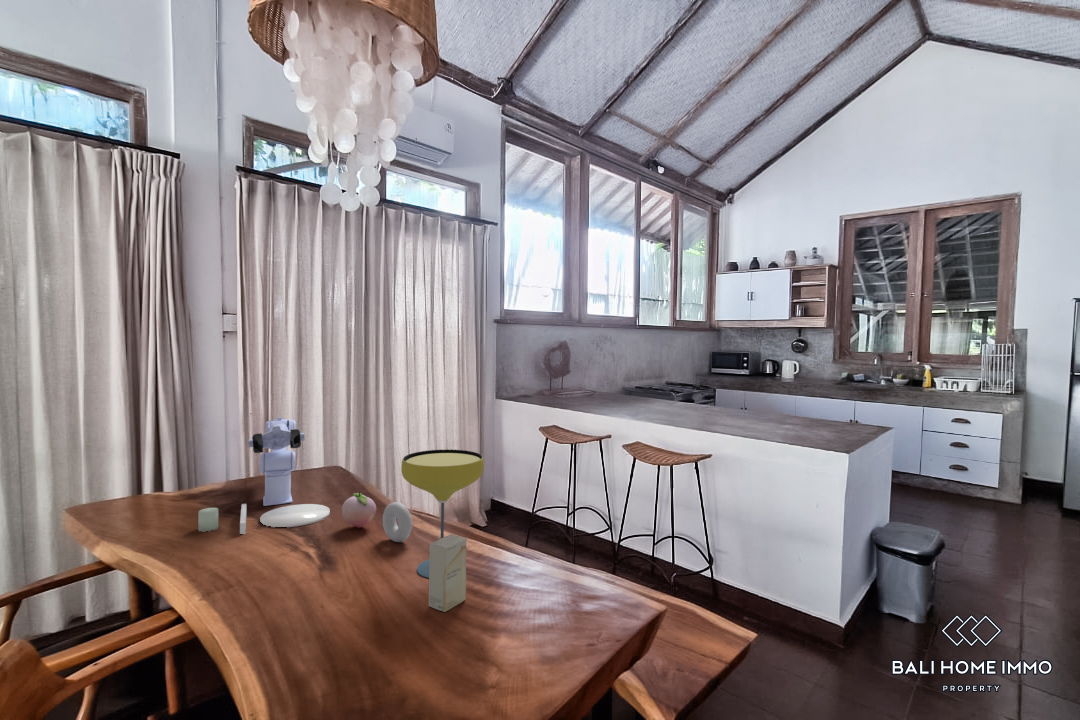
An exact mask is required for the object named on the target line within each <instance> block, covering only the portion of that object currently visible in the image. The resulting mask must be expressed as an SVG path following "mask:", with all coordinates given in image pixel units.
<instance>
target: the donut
mask: <svg viewBox="0 0 1080 720" xmlns="http://www.w3.org/2000/svg"><path fill="white" fill-rule="evenodd" d="M382 527H383V530H384V532H385V534H386V536H387V537H388V538H389V539H390V540H391V541H392V542H396V543H403V542H404V541H406V540H407V539H408V538H409V536H410V535H411V533H412V529H413V519H412V515H411V513H410V511H409V509H408V508H407V506H406V505H404V503H401V502H399V501H397V502H396V501H394V502H391V503H388V505H386V507H385V508H384V510H383V514H382Z"/></svg>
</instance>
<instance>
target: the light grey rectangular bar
mask: <svg viewBox="0 0 1080 720" xmlns="http://www.w3.org/2000/svg"><path fill="white" fill-rule="evenodd" d="M240 507H241V509H240V519H239V521H240V522H239V535H240V534H243V535H246V531H245V530H246V529H247V528H246V527H247V526H246V525H247V503H241V506H240Z"/></svg>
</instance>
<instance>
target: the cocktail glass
mask: <svg viewBox="0 0 1080 720" xmlns="http://www.w3.org/2000/svg"><path fill="white" fill-rule="evenodd" d="M400 467H401V469H400V471H401V476H402V478H403V479H405V481H406V482H408V483H409V484H410V485H412V486H413V487H415V488H417V489H420V490H422V491H425V492H427V493H429V494H431V495H433V497H434V499H436V500H437V502H438V503H441V505H440V507H441V508H440V511H441V512H440V539H441V538H443V537H445V535H444V533H445V530H444V529H445V528H444V526H445V523H444V522H445V503H447V502H448V501H449V500H450V498H451V497H452V495H453V494H455V493H457V492H458V491H460V490H462V489H465V488H466V487H468V486H470V485H472V484H474V483H475V482H476V481H478V480H479V479H480V477H481V476H482V475H483V473H484V469H485V461H484V457H483V455H482V454H480V453H479V452H475V451H471V450H463V449H431V450H423V451H417V452H412V453H409V454H406V455H405V456H404V457H403V458H402V459H401V466H400ZM416 571H417V572H416V573H417V574H418V575H419V576H420V577H423V578H426V579H429V558H428V559H426V560H424V561H422V562H420V563H419V564H418V566H417V567H416Z"/></svg>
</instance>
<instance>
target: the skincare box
mask: <svg viewBox="0 0 1080 720" xmlns="http://www.w3.org/2000/svg"><path fill="white" fill-rule="evenodd" d="M467 541H468V540H467V538H466V537H463V536H459V535H455V534H452V533H451V534H448V535H446V536H444V537H443V538H441V537H440V538H439V539H437V540H435V541H432V542H430V543H429V556H428V557H429V558H428V559H429V578H428V607H430V608H433V609H435V610H438V611H441V612H442V613H446V612H447V611H450V610H452V609H453V608H454V607H456V606H458V605H459V604H461V603H462V602H465V601H466V599H467V597H466V596H467V592H466V591H467Z"/></svg>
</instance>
